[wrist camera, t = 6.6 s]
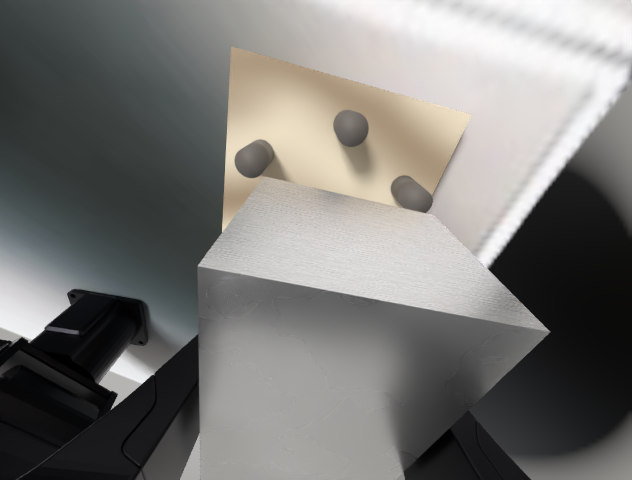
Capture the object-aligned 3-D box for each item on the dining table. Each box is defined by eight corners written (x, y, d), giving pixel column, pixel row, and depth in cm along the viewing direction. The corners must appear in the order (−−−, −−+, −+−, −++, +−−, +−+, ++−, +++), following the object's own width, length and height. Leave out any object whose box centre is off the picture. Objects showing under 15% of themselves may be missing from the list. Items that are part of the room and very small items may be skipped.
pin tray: (366, 310, 24) (375, 351, 20) (224, 284, 23) (205, 322, 19) (459, 113, 16) (505, 118, 12) (239, 51, 14) (208, 32, 10)
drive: (350, 377, 13) (364, 508, 9) (240, 360, 13) (200, 493, 8) (433, 215, 9) (550, 331, 4) (264, 176, 8) (197, 266, 4)
